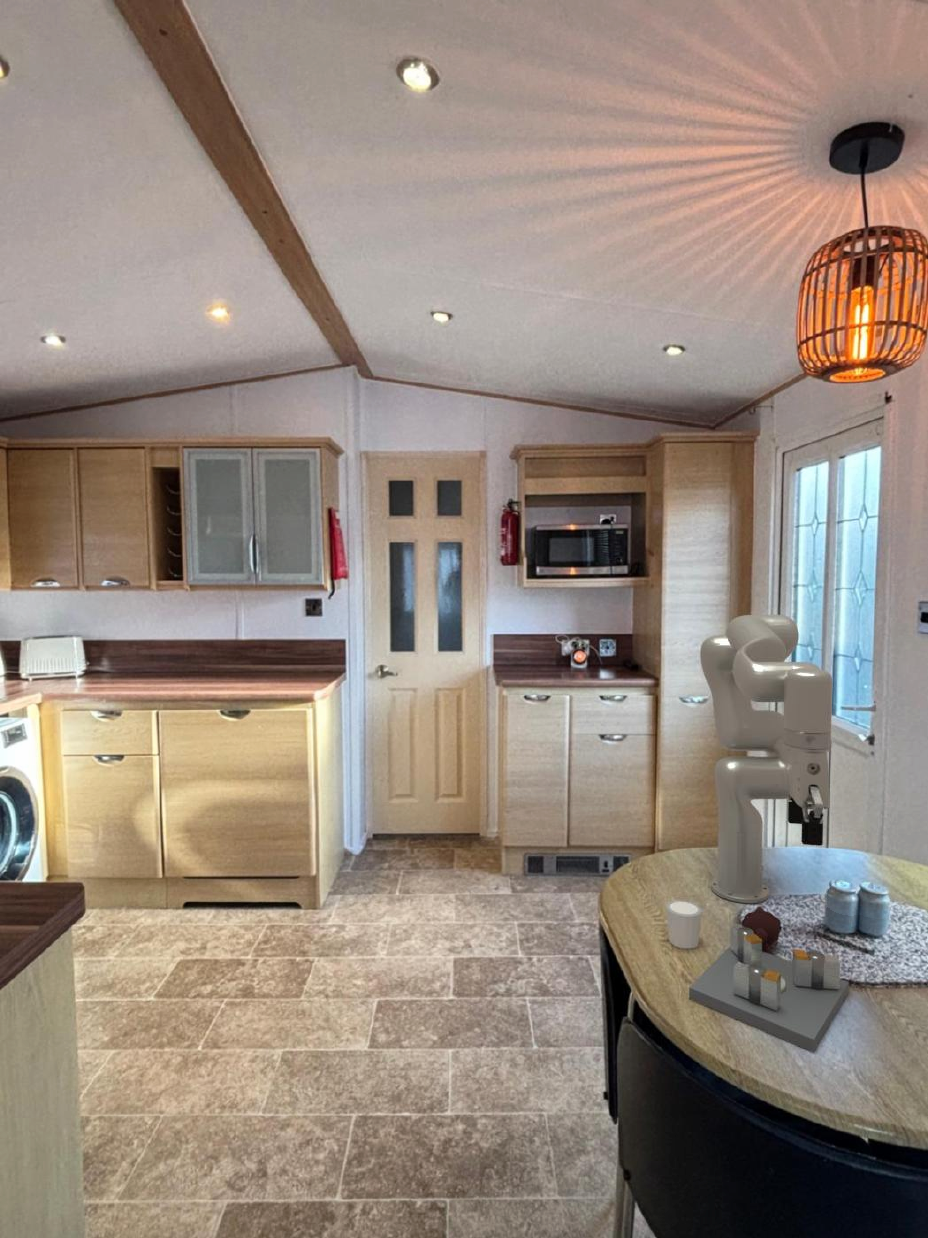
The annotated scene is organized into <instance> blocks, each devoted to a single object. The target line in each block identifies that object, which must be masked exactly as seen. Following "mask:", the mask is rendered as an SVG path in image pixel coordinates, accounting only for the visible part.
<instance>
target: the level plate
mask: <svg viewBox="0 0 928 1238" xmlns="http://www.w3.org/2000/svg"><path fill="white" fill-rule="evenodd" d="M737 962H741V963H743V964H745V963H744V962H743V961H740V960H739V959H738V958H737V955H736V954H735V953H734V952H733V951H732V950H731V949H730V946H728V948H726V950H724V951H723V953H721V954H720V955H719V957H717V959H716V960H715V961H714V962H713V963H712V964H711V965H710V966H709V967H707V969H706V970H705V971H704V972H703V973H702V974H701V975H700V976H699V977H698V978H697V979H696V980H695V981H694V982H693V983H692V984H691V985H690V986H689V987H688V991H689V993H688V996H689V997H688V999H689V1000H692V1001H694V1002H696V1003H698V1002H699V1003H698V1004H701V1005H703V1006H705V1007H708V1008H710V1009H713V1010H715V1011H716V1012H719V1013H722V1014H724V1015H727V1016H729V1017H731V1018H733V1019H735V1020H737V1021H740V1022H743V1023H744V1024H746V1025H749V1026H752V1027H753V1028H756V1029H759V1030H760V1031H763V1032H765V1033H768V1034H770V1035H773V1036H775V1037H778V1038H779V1039H782V1040H784V1041H786V1042H789V1043H790V1044H794V1045H796V1046H798V1047H800V1048H802V1049H805V1050H807V1051H810V1052H811V1053H814V1052H815V1051H816V1049H817V1048H818V1046H819V1044H820V1042H821V1041H822V1039H823V1037H824V1036H825V1034H826V1032H827V1031H828V1029H829V1027H830V1026H831V1024H832V1022H833V1020H834V1019H835V1017H836V1015H837V1014H838V1012H839V1010H840V1008H841V1007H842V1005H843V1004H844V1002H845V1000H846V999H847V996H848V995H849V993H850V990H849V989H850V981H847V980H843V979H842V978H840V982H839V989H828V988H823V989H816V988H812V987H806V986H796V985H795V983H794V981H793V980H792V961H790V960H788V959H784V958H782V957H779V956H776V955H774V954H768V953H766V952H763V951H762V967H764V968H765V969H766V972H767V971H768V969H769V970H772V971H775V972H777V973H780V974H781V1005H780V1006H779V1008H778V1009H777V1011H776V1010H773V1009H771V1008H769V1007H766V1006H764V1005H761V1004H755V1003H753V1002H751V1001H750V1000H749V999H746V998H744V997H742V996H739V995H737V994H734V993H733V991H734V966H735V965H736V964H737Z"/></svg>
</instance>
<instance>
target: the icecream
mask: <svg viewBox="0 0 928 1238" xmlns="http://www.w3.org/2000/svg"><path fill="white" fill-rule="evenodd" d="M781 923H782V921H781V919H779V918H778V917H777V916H775V915H774V914H773V913H771V912H769V911H766V910H764V908H763V907H762V906H760V905H758V906H757V908H756V909H754V911H750V912H748V913H746V914H745V916H744V917H743V919H742V920H741V922H740V924H741V925H742V926H743V927H745V928H749V929H751V930H753V931H754V934H756V935H757V936H758V937H759V938H760V939H762V951H763V952H766V953H768V954H771V955H773V954H772V953H773V952H772V949H771V947H772V945H774V944H775V943H777V942H778V941H779V937H780V934H781V931H782V929H783V926H782V925H781Z"/></svg>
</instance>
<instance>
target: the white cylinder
mask: <svg viewBox="0 0 928 1238" xmlns="http://www.w3.org/2000/svg"><path fill="white" fill-rule="evenodd" d="M665 909H666V920H667V921H666V922H667V931H668V932H667V933H668V941H669V942H670V944H672V945H673V946H674V947H678V949H679V948H680V949H684V948H686V949H685V950H687V948H689V949H690V948H692V949H695V948H697V947H698V946H699V942H700V941H699V939H700V931H701V921H702V912H703V911H702V907H700V905H698V904H697V903H694V902H692V901H688V900H683V899H680V900H679V899H675V900H671V901H669V902H667V903H666V906H665ZM689 949H688V950H689ZM690 950H691V949H690Z"/></svg>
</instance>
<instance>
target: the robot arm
mask: <svg viewBox="0 0 928 1238" xmlns="http://www.w3.org/2000/svg"><path fill="white" fill-rule="evenodd" d="M799 636H800V635H799V629H798V626H797V624H796V623H795V621H794V620H793V619H792V618H791V617H789V616H787V615H785V614H744V615H740V616H737V617H735V618H733V619H732V620H731V621H729V623H728V624H727V626H726V630H725V634H720V635H719V634H718V635H714V636H710V637H708V638H706V639H704V640H703V641H702V644H701V645H700V651H699V652H700V653H699V654H700V655H699V657H700V659H699V660H700V665H701V670H702V672H703V676H704V677H705V680H706V683H707V685H708V687H709V690H710V693H711V696H712V705H713V706H712V707H713V715H714V723H715V731H716V737H717V742H718V743H719V746H720V747H721V748H722V749H723V750H727V751H733V752H736V751H737V752H765V753H766V754H767V756H755V755H754V756H750V755H748V756H747V755H744V756H743V755H740V756H737V755H735V756H727V757H726V756H725V757H724V758H721V759H720V760H718V761H717V762H716V764H715V766H714V771H713V772H714V773H713V774H714V782H715V783H714V784H715V788H716V796H717V807H718V809H717V811H718V812H717V813H718V814H717V815H718V816H717V817H718V820H717V821H718V822H717V824H718V825H717V826H718V828H717V833H718V834H717V837H718V838H717V876H715V877H714V878H712V879H711V881H710V888H711V890H712V892H713V893H714V894H716V895H717V896H719V897H721V898H722V899H725V900H728V901H732V902H735V903H742V904H757V903H761V902H765V901H766V900H768V898H769V897H770V889H769V887H768V886H767V885H766V884H764V883H763V872H764V869H765V868H764V865H763V827H764V825H763V817H762V814H761V812H759V810H758V809H757V808H756V806H754V805H753V803H752V801H753V800H787V799H788V803H787V807H788V808H787V822H788V823H789V824H793V825H801V836H800V837H801V840H800V841H801V844H803V846H804V845H805V846H806V845H807V846H823V844H824V843H823V841H824V813H823V809H825V810H828V809H829V808H830V774H829V773H830V772H829V770H830V769H829V759H828V752H830V751H831V749H832V748H831V745H832V712H833V711H832V706H833V703H832V702H833V699H832V698H833V677H832V675H831V674H830V673H829V672H828V671H826V670H824V669H821V668H820V667H819V666H818V665H817V664H815V663H812V662H807V661H805V662H804V661H786V659H788V658H789V657H790V655H791V654H792V653H793V652H794V651H795V650H796V649H797V646H798V643H799V638H800V637H799ZM752 702H755V703H783V714H782V713H781V712H779V711H776V710H768V709H767V710H765V709H760V710H758V709H756V710H755V709H754V708H753V706H752ZM808 810H809V811H808Z"/></svg>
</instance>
